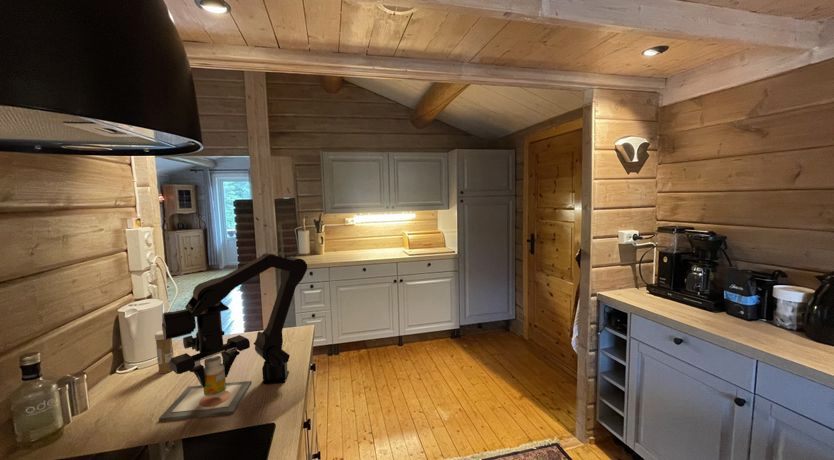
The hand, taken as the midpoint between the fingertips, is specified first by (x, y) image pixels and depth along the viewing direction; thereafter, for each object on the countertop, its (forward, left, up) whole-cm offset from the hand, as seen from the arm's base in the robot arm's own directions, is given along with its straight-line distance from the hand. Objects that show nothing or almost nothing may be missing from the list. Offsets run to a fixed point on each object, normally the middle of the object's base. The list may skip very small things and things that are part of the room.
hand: (214, 381), depth 96 cm
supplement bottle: (0, 0, -3) cm, 3 cm away
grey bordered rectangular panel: (+2, -1, -6) cm, 6 cm away
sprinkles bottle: (+24, -22, -6) cm, 33 cm away
